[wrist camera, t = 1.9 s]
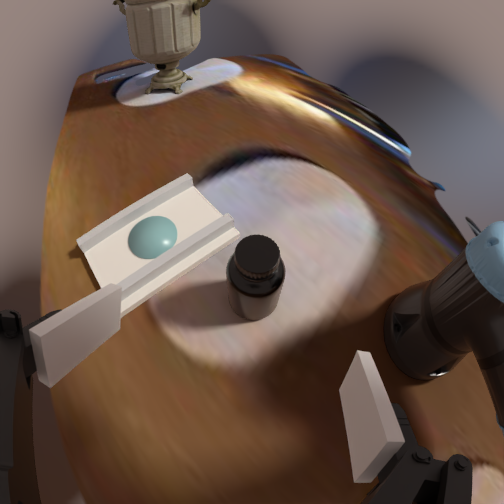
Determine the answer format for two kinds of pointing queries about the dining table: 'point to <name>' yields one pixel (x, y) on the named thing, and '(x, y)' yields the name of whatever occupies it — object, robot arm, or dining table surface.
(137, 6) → the samovar
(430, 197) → the dining table surface
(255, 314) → the supplement bottle
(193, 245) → the rail cradle
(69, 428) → the dining table surface
